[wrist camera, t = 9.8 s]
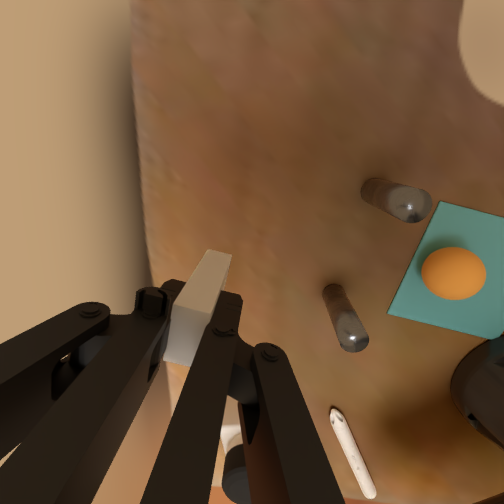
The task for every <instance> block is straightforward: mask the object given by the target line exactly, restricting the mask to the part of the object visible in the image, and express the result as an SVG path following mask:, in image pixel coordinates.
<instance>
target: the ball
mask: <svg viewBox="0 0 504 504" xmlns="http://www.w3.org/2000/svg"><path fill="white" fill-rule="evenodd" d="M421 275H422V279H423V282H424V284H425V285H426V287H427V288H428V289H429V290H430V291H431V292H432V293H434V294H435V295H437V296H439V297H441V298H444V299H449V300H462V299H466V298H469V297H471V296H473V295H475V294H476V293H477V292H479V291H480V289H481V288H482V287H483V285H484V283H485V280H486V269H485V266H484V264H483V262H482V261H481V260H480V258H479V257H478V256H477V255H475V254H474V253H472V252H471V251H469V250H466V249H463V248H459V247H446V248H442V249H439V250H436V251H435V252H433V253H431V254H430V255H429V256H428V257H427V258H426V260H425V261H424V263H423V266H422V270H421Z"/></svg>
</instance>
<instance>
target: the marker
mask: <svg viewBox="0 0 504 504" xmlns="http://www.w3.org/2000/svg"><path fill="white" fill-rule="evenodd" d="M330 422H331V425H332V427H333V429H334V431H335V433H336V436H337V438H338V440H339V442H340V444H341V446H342V449H343V451H344V453H345V455H346V457H347V459H348V462H349V464H350V466H351V468H352V470H353V472H354V475H355V477H356V479H357V481H358V483H359V485H360V488H361V490H362V492H363V494H364V495H365V497H367V498H368V499H373V498H375V496H376V488H375V486H374V484H373V481H372V479H371V477H370V475H369V472H368V470H367V468H366V465H365V463H364V461H363V459H362V456H361V454H360V452H359V449H358V447H357V445H356V443H355V440H354V438H353V436H352V434H351V431H350V429H349V427H348V424H347V422H346V420H345V418H344V416H343V415H342V414H341V413H340V412H339V411H338V410H336V409H332V410H331V414H330Z"/></svg>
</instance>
